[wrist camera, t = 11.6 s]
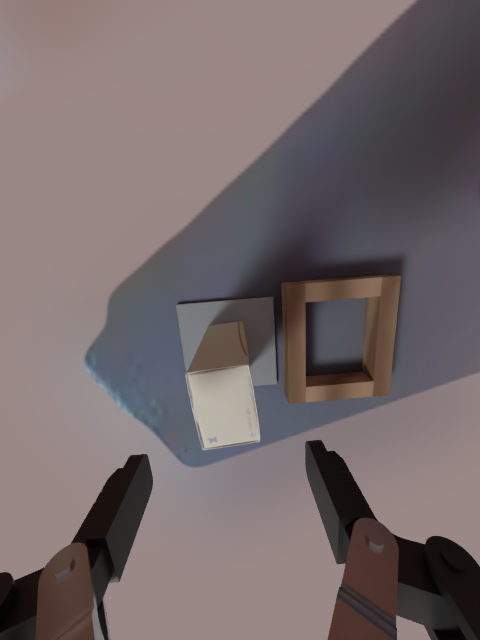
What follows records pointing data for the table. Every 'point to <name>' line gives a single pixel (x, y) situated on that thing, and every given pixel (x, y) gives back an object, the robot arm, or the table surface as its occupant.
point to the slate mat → (250, 311)
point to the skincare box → (223, 388)
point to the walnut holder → (376, 337)
